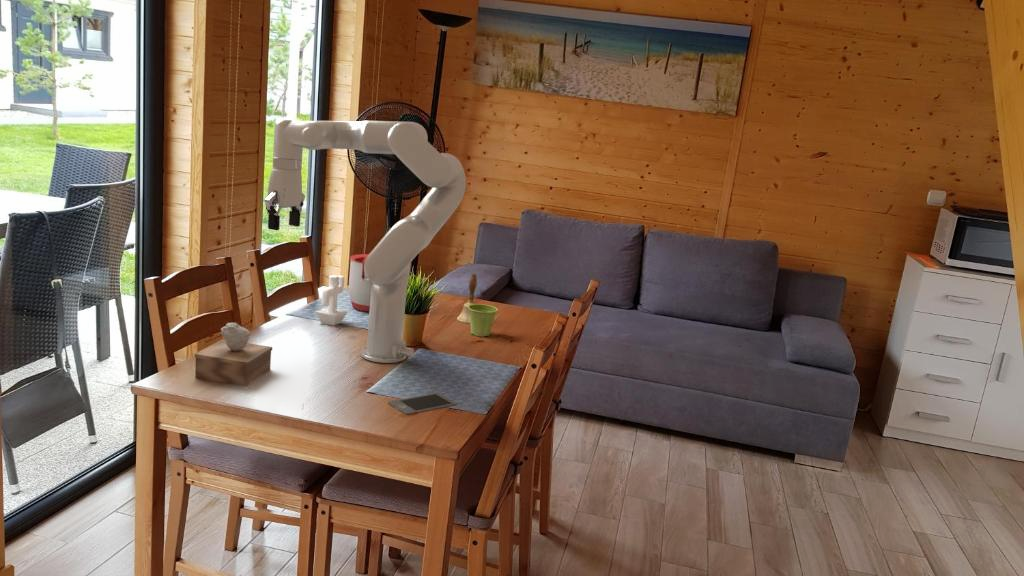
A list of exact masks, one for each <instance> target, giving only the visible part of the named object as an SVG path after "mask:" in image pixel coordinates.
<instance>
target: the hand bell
mask: <svg viewBox="0 0 1024 576" xmlns="http://www.w3.org/2000/svg"><path fill="white" fill-rule="evenodd" d="M477 284H478V280H477V274H476V273H472V274H471V276H470V278H469V281H468V291H469V295H468V301H467V302H465V303H464V304H463V308H462V310H461V313H460V314H459V315H458V316H457V318H456V320H457V321H459V322H461V323H465V324H470V313H469V309H468V306H469V305H472V304H475V303H474V298H475V292H476V288H477Z"/></svg>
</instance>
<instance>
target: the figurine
mask: <svg viewBox="0 0 1024 576" xmlns="http://www.w3.org/2000/svg"><path fill="white" fill-rule="evenodd" d="M328 283H329V284H328V287H327V288H324V289H323V291H322V295H321V306H323V307H324V308H322V309H319V310H317V311H315V314H316V315H317V317H318V320H319V322H320V323H321V324H324V325H328V326H332V327H334V326H337V325H339V324H342V322H343V320H344V319H345V317H346V316H347V314H348V312H349V311H348V310H344V309H339V308H338V296H339V294H342V293H343V292H344V289H345V276H344V275H329V276H328Z"/></svg>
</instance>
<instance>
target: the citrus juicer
mask: <svg viewBox="0 0 1024 576" xmlns="http://www.w3.org/2000/svg"><path fill="white" fill-rule="evenodd" d="M370 253H371V251H370V252H369V253H362V254H361V253H360V254H353V255H350V256H349V259H350V261H349V262H350V267H349V279H348V292H349V293H348V294H349V297H350V302H351V306H352V307H353V308H354V309H356V311H363V312H370V300H371V290H372V283H371V282H370V281H369V280H368V279H367V277H366V275H365V272H364V263H365V260H366V258H367V257H368V255H369V254H370Z"/></svg>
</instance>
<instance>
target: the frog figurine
mask: <svg viewBox="0 0 1024 576" xmlns="http://www.w3.org/2000/svg"><path fill="white" fill-rule="evenodd" d="M220 330H221V332H220V335H221V336H222V339H225V340H226V344H227V346H228V348H229V349H231V350H233V351H240V350H242V349H243V348H245V346H246V345H247V343H248V342H249V339H250V335H251V334H252V333H251V331H249V330H248V329H247V328H245V327H243V326H241V325H240V324H238V323H237V322H227V323H226V324H225V326H223V327H221V328H220Z"/></svg>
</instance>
